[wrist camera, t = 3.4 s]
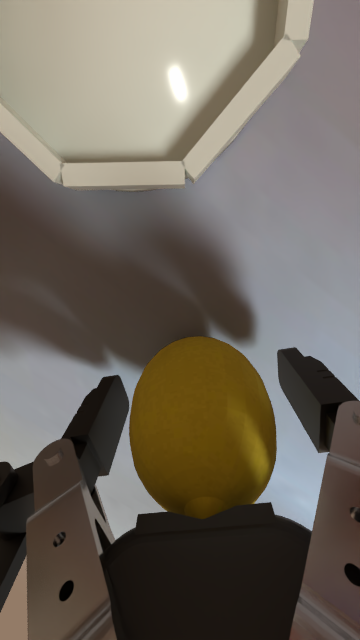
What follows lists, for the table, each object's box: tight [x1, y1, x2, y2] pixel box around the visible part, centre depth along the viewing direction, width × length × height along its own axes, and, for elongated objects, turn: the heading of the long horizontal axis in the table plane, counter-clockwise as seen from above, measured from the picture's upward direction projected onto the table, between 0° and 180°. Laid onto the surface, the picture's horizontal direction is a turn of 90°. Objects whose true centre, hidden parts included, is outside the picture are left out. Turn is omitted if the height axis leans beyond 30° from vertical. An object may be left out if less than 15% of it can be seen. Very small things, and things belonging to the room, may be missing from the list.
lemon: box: [129, 336, 277, 519], centre depth 9 cm, size 6×6×8 cm
